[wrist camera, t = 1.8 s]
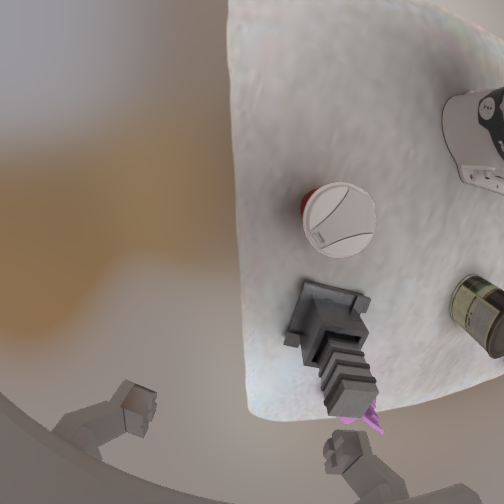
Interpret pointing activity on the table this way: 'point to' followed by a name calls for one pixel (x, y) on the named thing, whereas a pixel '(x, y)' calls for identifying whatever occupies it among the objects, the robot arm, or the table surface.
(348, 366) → the column
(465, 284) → the coffee can
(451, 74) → the table surface
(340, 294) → the stand
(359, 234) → the paper cup
